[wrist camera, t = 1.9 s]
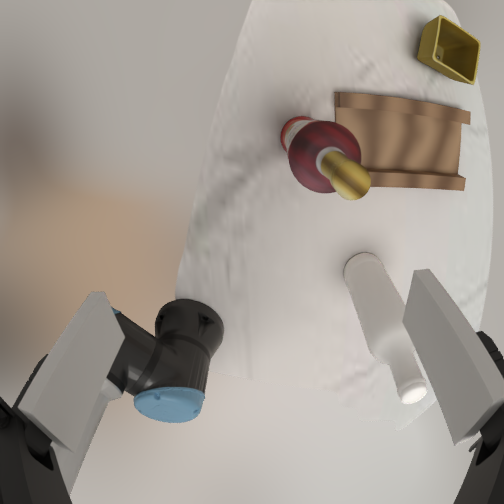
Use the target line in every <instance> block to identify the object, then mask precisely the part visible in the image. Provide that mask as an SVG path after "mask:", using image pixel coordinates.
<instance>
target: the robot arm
mask: <svg viewBox="0 0 504 504" xmlns="http://www.w3.org/2000/svg"><path fill="white" fill-rule="evenodd" d="M402 322H403V324H404V326H405V328H406V330H407V332H408V334H409V336H410V339H411V341H412V343H413V345H414V347H415V349H416V351H417V353H418V356H419V358H420V360H421V362H422V364H423V367H424V369H425V371H426V373H427V376H428V378H429V380H430V383H431V385H432V387H433V390H434V392H435V395H436V397H437V400H438V402H439V405H440V407H441V410H442V412H443V415H444V418H445V420H446V423H447V426H448V428H449V431H450V434H451V436H452V440H453V443H454V445H458V444H460V443H462V442H465V441H467V440H469V439H471V438H473V437H474V436H475V435H476V433H478V431H479V430H480V433H481V435H482V436H481V437H480V438H479V439H478V440H477V441H476V442H475V443H474V444H473V445H472V446H471V447H470V449H469V452H471V451H472V450H473V449H474V448H476V450H475V452H474V456H473V459H472V461H471V464H470V467H469V469H468V472H467V474H466V477H465V479H464V482H463V484H462V486H461V489H460V491H459V493H458V495H457V497H456V499H455V502H454V504H504V359H503V356H502V354H501V353H500V351H498V348H497V347H496V345H495V344H494V342H493V340H492V339H491V338H490V337H489V336H487V335H486V334H485V333H484V332H483V331H480V332H476V333H475V331H474V330H473V328H472V327H471V325H470V324H469V322H468V321H467V319H466V318H465V316H464V315H463V313H462V312H461V311H460V309H459V308H458V306H457V305H456V304H455V302H454V301H453V299H452V298H451V297H450V295H449V294H448V293H447V291H446V290H445V289H444V287H443V286H442V285H441V283H440V282H439V281H438V280H437V278H436V277H435V276H434V275H433V273H432V272H431V271H430V269H424V270H415V271H414V273H413V278H412V282H411V287H410V291H409V296H408V300H407V304H406V308H405V312H404V316H403V320H402ZM223 333H224V326H223V323H222V321H221V319H220V317H219V316H218V315H217V313H216V312H215V311H213V310H212V309H211V308H209V307H208V306H206V305H204V304H202V303H200V302H197V301H193V300H184V299H183V300H174V301H171V302H169V303H167V304H165V305H164V306H163V307H162V308H161V310H160V311H159V313H158V316H157V318H156V321H155V337H154V336H153V335H151V334H150V333H148V332H147V331H146V330H144V329H143V328H141V327H140V326H138V325H137V324H136V323H134V322H133V321H131V320H130V319H129V318H127V317H126V316H124V315H123V314H122V313H121V312H120V311H117V310H115V309H114V308H112V307H111V306H110V304H109V301H108V299H107V297H106V294H105V292H91V293H90V294H89V296H88V297H87V299H86V300H85V301H84V303H83V304H82V305H81V307H80V308H79V310H78V311H77V312H76V314H75V315H74V317H73V318H72V320H71V321H70V323H69V324H68V326H67V327H66V328H65V330H64V331H63V333H62V335H61V336H60V337H59V339H58V340H57V342H56V343H55V345H54V347H53V348H52V350H51V351H50V353H49V354H47V355H46V356H45V357H44V358H42V359H41V360H40V361H39V362H38V364H37V366H36V367H35V369H34V371H33V373H32V374H31V376H30V377H29V381H27V382H26V384H25V386H24V387H23V389H22V391H21V393H20V395H19V396H18V398H17V400H16V402H15V404H14V405H13V407H12V408H10V407H9V406H8V405H7V403H6V402H5V401H4V400H3V399H2V398H1V397H0V504H72V502H71V499H70V494H71V491H72V488H73V486H74V483H75V480H76V478H77V475H78V473H79V470H80V468H81V465H82V462H83V460H84V458H85V455H86V453H87V451H88V448H89V446H90V443H91V441H92V439H93V436H94V434H95V432H96V429H97V427H98V425H99V423H100V420H101V418H102V416H103V414H104V411H105V409H106V407H107V405H108V402H109V401H111V400H115V399H118V398H121V396H122V394H123V392H124V391H126V392H128V393H130V394H131V395H133V396H134V406H135V408H136V409H137V410H138V411H139V412H140V413H141V414H143V415H145V416H147V417H149V418H151V419H154V420H158V421H162V422H169V423H181V422H187V421H190V420H192V419H194V418H196V417H197V416H198V414H199V413H200V411H201V407H202V404H203V401H204V399H205V388H206V383H207V376H208V371H209V365H210V359H211V358H212V356H213V355H214V353H215V352H216V350H217V349H218V347H219V346H220V344H221V342H222V339H223Z"/></svg>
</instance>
